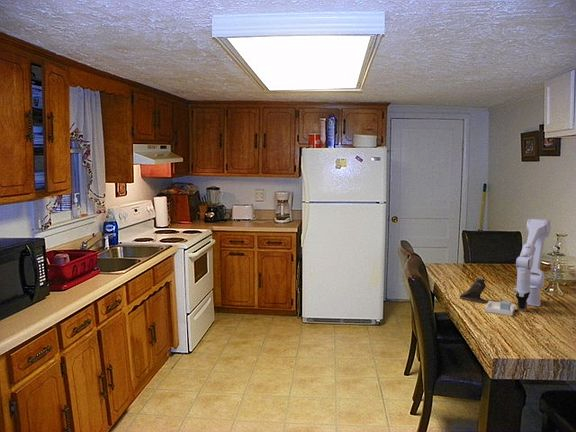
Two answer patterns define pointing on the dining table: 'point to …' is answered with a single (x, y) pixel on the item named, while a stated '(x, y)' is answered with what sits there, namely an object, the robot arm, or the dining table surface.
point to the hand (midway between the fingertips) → (522, 307)
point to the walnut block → (522, 309)
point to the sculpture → (475, 292)
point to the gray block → (505, 305)
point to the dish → (495, 309)
